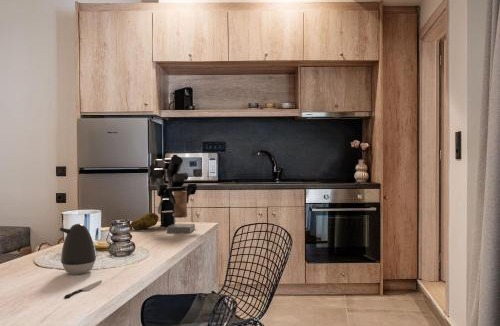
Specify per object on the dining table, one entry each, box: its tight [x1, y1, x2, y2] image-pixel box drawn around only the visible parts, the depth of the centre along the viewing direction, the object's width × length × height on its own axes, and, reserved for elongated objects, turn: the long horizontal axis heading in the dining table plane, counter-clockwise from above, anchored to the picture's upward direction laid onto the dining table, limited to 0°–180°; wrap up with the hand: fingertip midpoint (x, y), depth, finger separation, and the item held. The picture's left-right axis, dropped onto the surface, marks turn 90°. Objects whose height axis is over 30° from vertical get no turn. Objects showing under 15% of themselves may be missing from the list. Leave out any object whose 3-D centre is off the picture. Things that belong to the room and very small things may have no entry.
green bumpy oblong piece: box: [130, 212, 159, 230], centre depth 237 cm, size 8×13×8 cm, turn 80°
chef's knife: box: [64, 280, 103, 299], centre depth 132 cm, size 19×1×3 cm
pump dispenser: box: [59, 223, 97, 275], centre depth 151 cm, size 10×10×15 cm
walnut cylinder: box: [173, 191, 188, 219], centre depth 229 cm, size 6×6×12 cm
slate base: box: [166, 223, 196, 234], centre depth 230 cm, size 11×11×2 cm
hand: (181, 203), depth 228 cm, fingers closed on walnut cylinder, 6 cm apart
